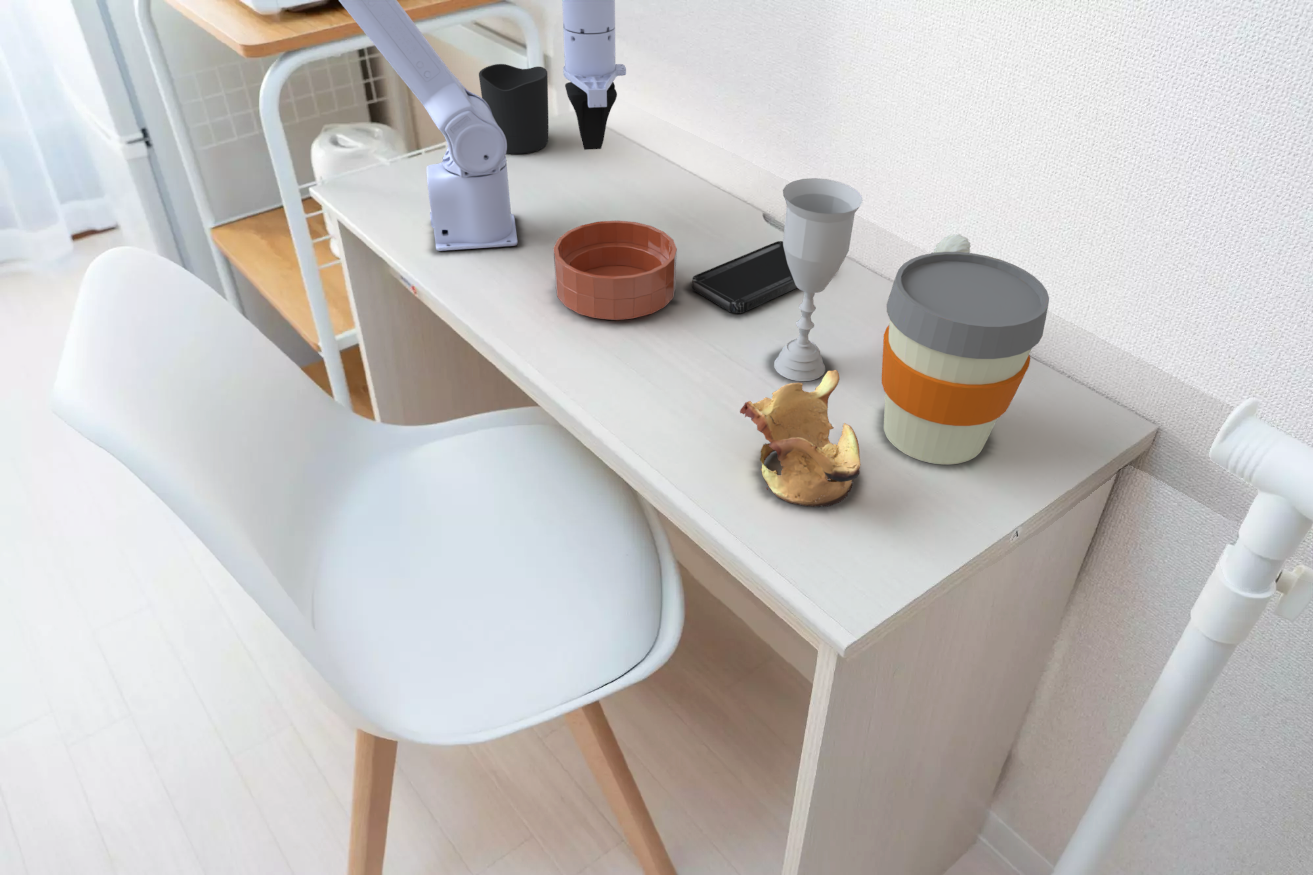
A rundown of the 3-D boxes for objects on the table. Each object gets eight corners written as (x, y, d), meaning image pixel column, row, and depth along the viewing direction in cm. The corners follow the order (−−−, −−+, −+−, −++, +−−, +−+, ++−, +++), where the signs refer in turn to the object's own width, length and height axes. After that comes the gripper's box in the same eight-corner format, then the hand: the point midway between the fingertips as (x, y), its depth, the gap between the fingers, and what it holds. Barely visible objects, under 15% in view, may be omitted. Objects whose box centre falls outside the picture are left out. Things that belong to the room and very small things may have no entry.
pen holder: (528, 126, 141) (523, 58, 135) (564, 145, 135) (560, 75, 129) (473, 141, 136) (466, 70, 130) (508, 161, 131) (502, 89, 124)
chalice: (752, 353, 94) (768, 184, 83) (812, 340, 96) (836, 173, 85) (785, 393, 89) (807, 218, 78) (848, 379, 91) (878, 207, 80)
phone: (687, 278, 103) (782, 238, 111) (687, 287, 104) (781, 247, 112) (737, 307, 99) (832, 264, 106) (736, 316, 99) (831, 273, 107)
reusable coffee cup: (1034, 462, 82) (1087, 315, 72) (906, 490, 79) (944, 339, 69) (956, 382, 91) (994, 242, 82) (839, 404, 88) (864, 261, 78)
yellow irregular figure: (718, 465, 81) (724, 386, 76) (794, 420, 86) (805, 343, 81) (824, 541, 74) (839, 460, 69) (900, 487, 79) (919, 408, 74)
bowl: (562, 329, 97) (559, 282, 94) (551, 268, 107) (549, 224, 104) (685, 319, 99) (686, 273, 96) (663, 260, 109) (664, 217, 106)
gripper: (634, 45, 98) (634, 170, 106) (617, 8, 109) (617, 123, 117) (567, 47, 97) (572, 173, 105) (556, 9, 108) (561, 125, 116)
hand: (592, 147), depth 111 cm, fingers closed
